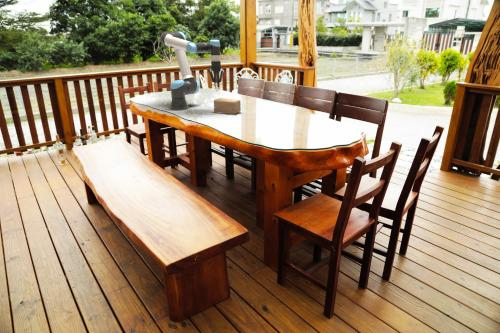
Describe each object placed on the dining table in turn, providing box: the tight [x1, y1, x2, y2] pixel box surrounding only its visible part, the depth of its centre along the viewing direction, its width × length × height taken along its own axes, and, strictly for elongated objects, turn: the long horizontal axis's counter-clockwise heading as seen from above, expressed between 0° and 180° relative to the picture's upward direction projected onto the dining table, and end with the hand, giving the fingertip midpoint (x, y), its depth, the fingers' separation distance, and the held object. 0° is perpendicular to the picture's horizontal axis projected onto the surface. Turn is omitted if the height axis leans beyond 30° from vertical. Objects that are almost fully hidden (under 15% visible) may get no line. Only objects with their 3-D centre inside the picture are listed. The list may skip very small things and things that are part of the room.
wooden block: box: [213, 97, 242, 115], centre depth 265 cm, size 10×10×20 cm
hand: (217, 91), depth 266 cm, fingers closed
